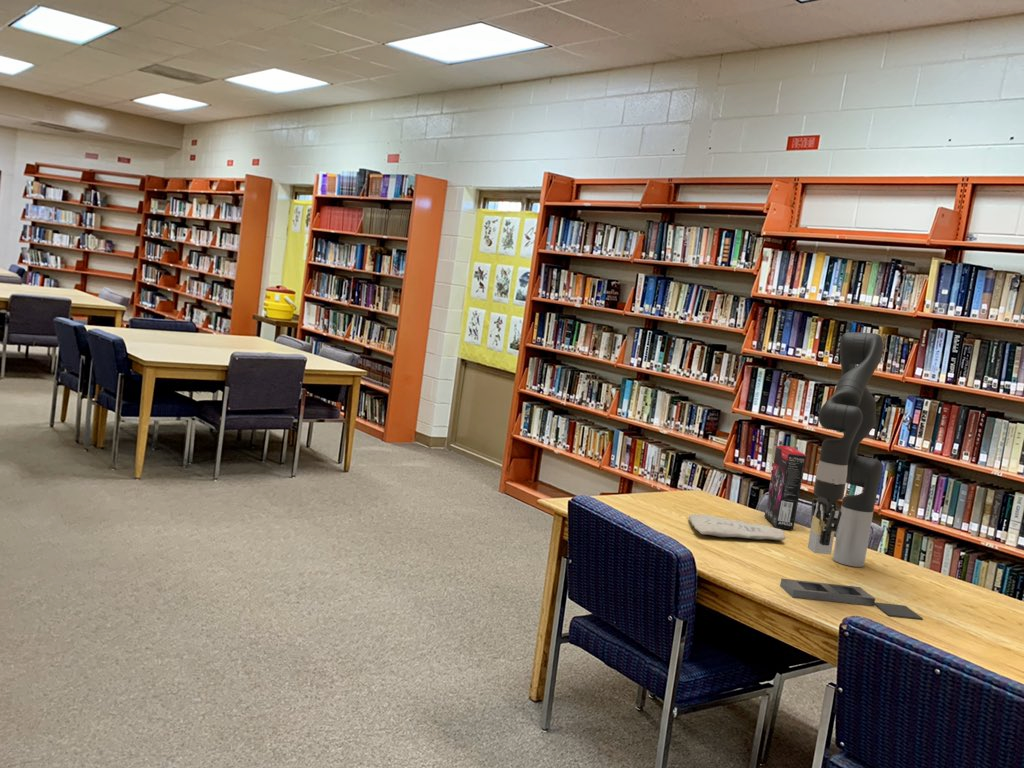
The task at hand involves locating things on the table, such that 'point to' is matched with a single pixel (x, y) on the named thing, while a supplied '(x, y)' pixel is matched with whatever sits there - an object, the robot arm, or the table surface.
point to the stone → (733, 528)
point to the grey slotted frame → (827, 592)
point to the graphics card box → (785, 487)
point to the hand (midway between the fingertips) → (820, 541)
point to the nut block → (819, 537)
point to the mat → (897, 611)
